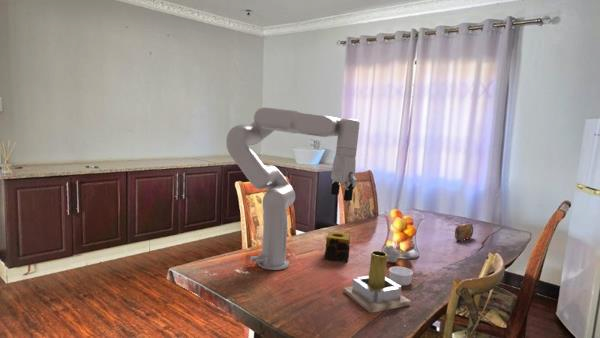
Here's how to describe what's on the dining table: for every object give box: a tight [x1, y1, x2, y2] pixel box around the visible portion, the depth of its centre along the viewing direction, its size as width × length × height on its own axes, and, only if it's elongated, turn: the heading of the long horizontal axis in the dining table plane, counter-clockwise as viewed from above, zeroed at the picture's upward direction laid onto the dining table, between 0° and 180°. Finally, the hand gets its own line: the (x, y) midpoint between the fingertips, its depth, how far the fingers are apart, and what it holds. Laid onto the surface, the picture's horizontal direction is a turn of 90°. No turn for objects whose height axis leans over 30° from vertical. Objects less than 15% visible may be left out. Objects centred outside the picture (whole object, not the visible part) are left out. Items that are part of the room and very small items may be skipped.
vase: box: [368, 250, 388, 290], centre depth 133 cm, size 6×6×14 cm
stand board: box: [342, 285, 411, 314], centre depth 134 cm, size 16×16×2 cm
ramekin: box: [388, 266, 414, 286], centre depth 149 cm, size 9×9×4 cm
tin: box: [454, 222, 474, 242], centre depth 210 cm, size 15×3×8 cm, turn 129°
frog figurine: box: [383, 245, 400, 263], centre depth 169 cm, size 6×7×7 cm
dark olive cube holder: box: [323, 231, 351, 263], centre depth 171 cm, size 10×10×10 cm
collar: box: [352, 275, 402, 304], centre depth 133 cm, size 12×12×4 cm
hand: (341, 197), depth 147 cm, fingers open, 9 cm apart
